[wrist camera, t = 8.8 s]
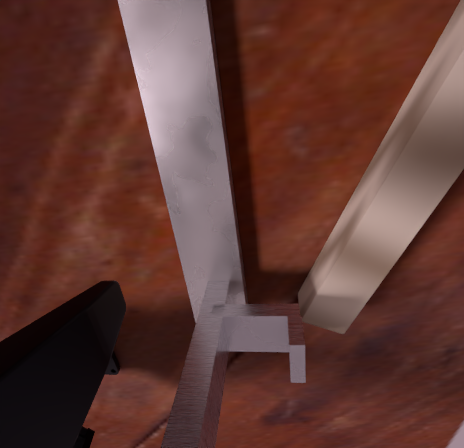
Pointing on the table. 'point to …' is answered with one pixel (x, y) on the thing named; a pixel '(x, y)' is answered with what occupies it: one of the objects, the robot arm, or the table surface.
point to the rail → (394, 189)
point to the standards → (201, 209)
